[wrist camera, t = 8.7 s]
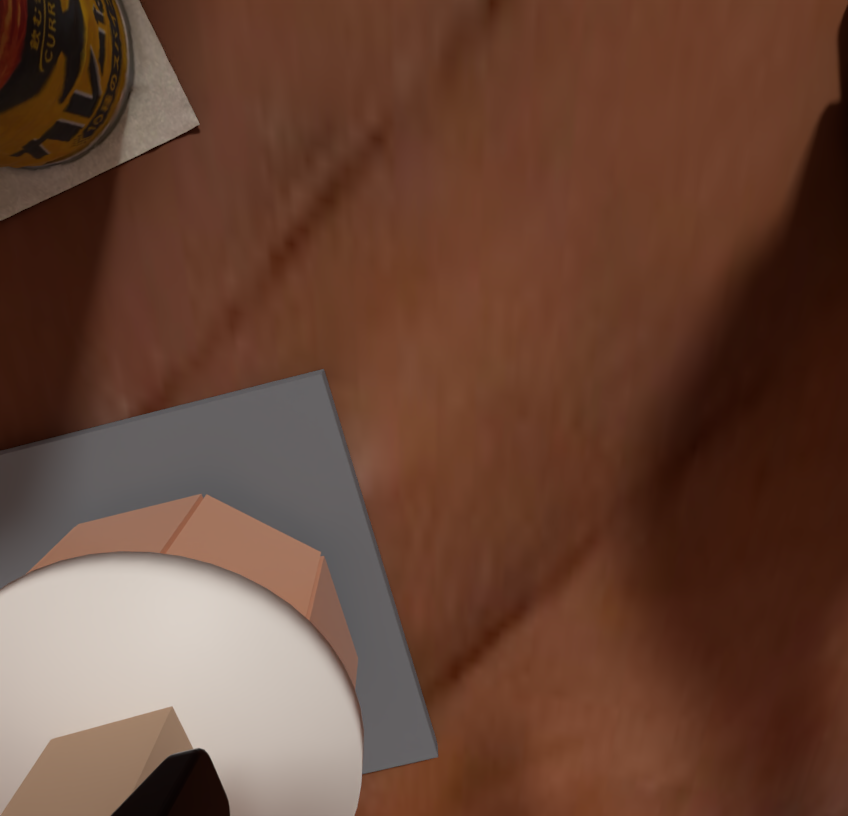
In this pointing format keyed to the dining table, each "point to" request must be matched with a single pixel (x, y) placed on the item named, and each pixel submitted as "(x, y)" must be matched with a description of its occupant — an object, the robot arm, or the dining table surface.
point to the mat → (247, 492)
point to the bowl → (223, 556)
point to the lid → (168, 689)
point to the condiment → (79, 94)
